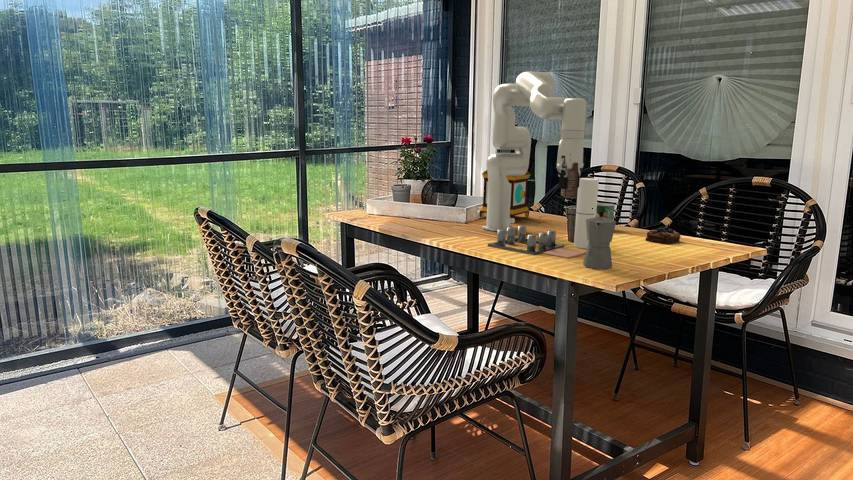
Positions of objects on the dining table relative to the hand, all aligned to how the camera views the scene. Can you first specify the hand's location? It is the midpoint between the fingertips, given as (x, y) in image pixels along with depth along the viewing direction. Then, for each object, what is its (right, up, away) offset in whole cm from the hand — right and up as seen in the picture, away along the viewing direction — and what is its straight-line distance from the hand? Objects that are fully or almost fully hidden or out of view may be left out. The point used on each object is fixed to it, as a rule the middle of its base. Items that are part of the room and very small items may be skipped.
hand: (568, 187), depth 225 cm
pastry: (+44, -19, +33) cm, 58 cm away
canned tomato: (+27, -14, +56) cm, 63 cm away
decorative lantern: (-13, -8, +80) cm, 82 cm away
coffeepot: (+7, -26, -13) cm, 30 cm away
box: (0, -3, +1) cm, 3 cm away
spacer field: (-12, -20, +15) cm, 28 cm away
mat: (-1, -23, +4) cm, 23 cm away
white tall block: (+9, -20, +18) cm, 29 cm away
